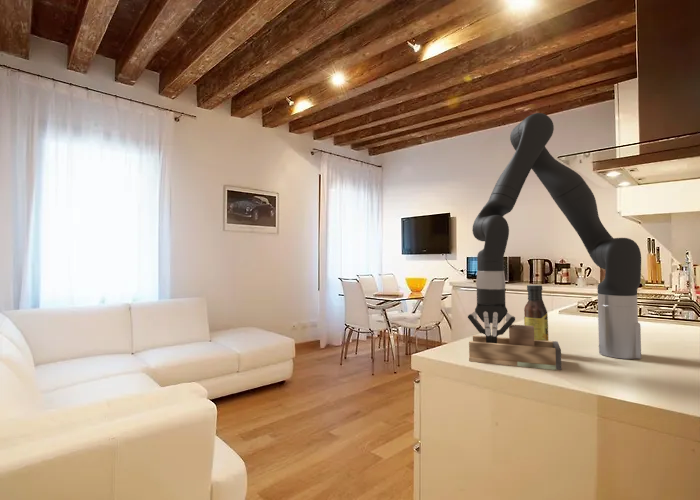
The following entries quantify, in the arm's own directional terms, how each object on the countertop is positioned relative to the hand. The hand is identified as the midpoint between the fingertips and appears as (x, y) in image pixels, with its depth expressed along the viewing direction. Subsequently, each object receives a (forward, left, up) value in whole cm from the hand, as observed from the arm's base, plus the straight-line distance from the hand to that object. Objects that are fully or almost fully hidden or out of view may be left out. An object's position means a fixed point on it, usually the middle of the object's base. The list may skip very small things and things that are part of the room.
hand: (491, 349), depth 105 cm
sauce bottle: (-12, -11, -3) cm, 16 cm away
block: (-8, 0, -1) cm, 8 cm away
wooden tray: (-6, 0, -3) cm, 6 cm away
